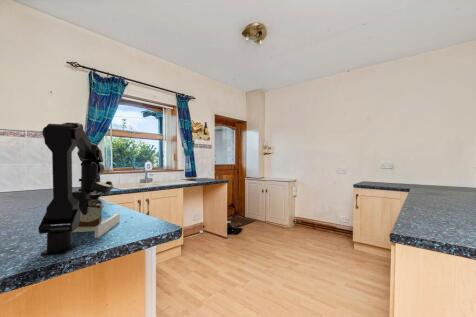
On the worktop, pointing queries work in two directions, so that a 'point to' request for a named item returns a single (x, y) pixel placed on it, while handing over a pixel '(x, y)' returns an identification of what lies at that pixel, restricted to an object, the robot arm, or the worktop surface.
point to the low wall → (106, 225)
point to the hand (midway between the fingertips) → (88, 212)
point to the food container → (92, 214)
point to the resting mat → (84, 229)
